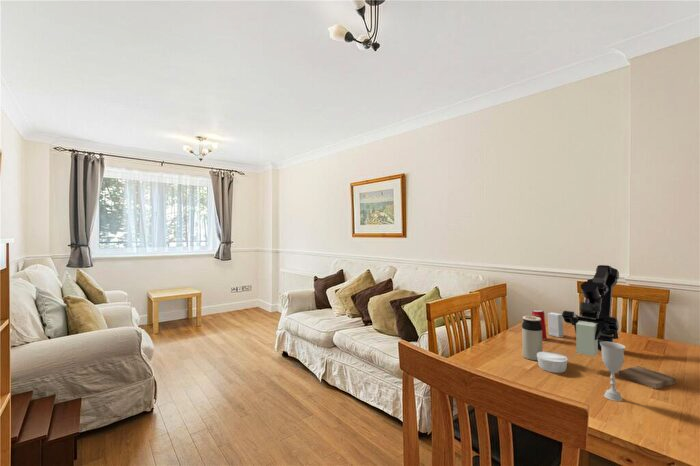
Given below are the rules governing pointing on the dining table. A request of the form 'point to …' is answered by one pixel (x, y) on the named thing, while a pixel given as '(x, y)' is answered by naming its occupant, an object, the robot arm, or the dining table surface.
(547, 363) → the ramekin
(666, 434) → the dining table surface
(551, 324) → the skincare box
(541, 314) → the beverage can
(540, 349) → the travel mug
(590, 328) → the sage block
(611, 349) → the chalice
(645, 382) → the walnut board
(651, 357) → the dining table surface
